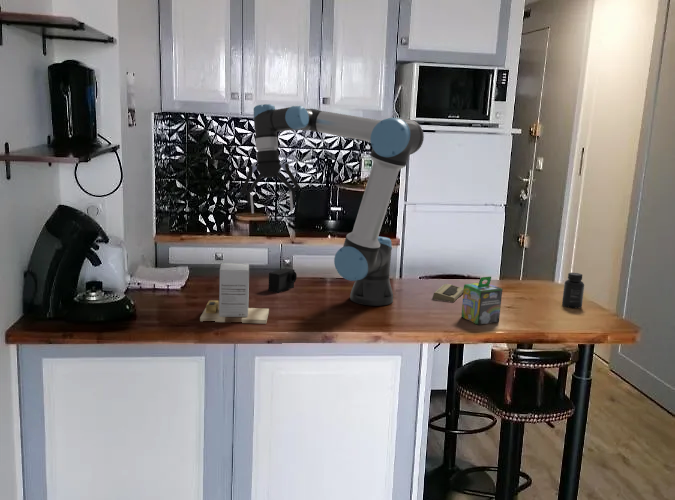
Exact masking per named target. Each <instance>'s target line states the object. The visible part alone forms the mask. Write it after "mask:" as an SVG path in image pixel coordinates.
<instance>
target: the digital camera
mask: <svg viewBox="0 0 675 500" xmlns="http://www.w3.org/2000/svg"><path fill="white" fill-rule="evenodd" d="M297 278H298V276H297V273H296V271H295V269H293V268H286V267H284V268H281V269H277V270H274V271H271V272H269V273H268V292H271V293H275V294H279V293H282V292H285V291H288V290H291V289H294V287H295V282H296V280H297Z"/></svg>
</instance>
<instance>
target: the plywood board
mask: <svg viewBox="0 0 675 500" xmlns="http://www.w3.org/2000/svg"><path fill="white" fill-rule="evenodd" d="M269 312H270V308H263V307H262V308H259V307H256V308H255V307H248V317H219V300H215V299H213V300H212V299H210V300H208V302H207V304H206V305H205V308H204V310H203V311H202V314H201V315H200V317H199V321H200V322H203V321H215V322H214V323H231V322H242V323H241V324H260V325H261V324H263V325H264V324H265V325H267V321H268V318H269V317H268V316H269V314H270V313H269Z"/></svg>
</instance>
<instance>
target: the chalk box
mask: <svg viewBox="0 0 675 500" xmlns="http://www.w3.org/2000/svg"><path fill="white" fill-rule="evenodd" d="M491 280H492V276H481V277H480V278H479V281H478V282H472V283H471V282H470V283H465V284H463V289H464V291H463V294H462V306H461V318H462V317H463V318H462V319H465V320H467V321H469V322H471V323H474V324H476V325H477V326H479V325H480V326H481V325H487V324H496V323H500V315H501V307H502V296H503V288H502V287H499V286H496V285H494V284H491ZM485 281H486V282H485Z"/></svg>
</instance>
